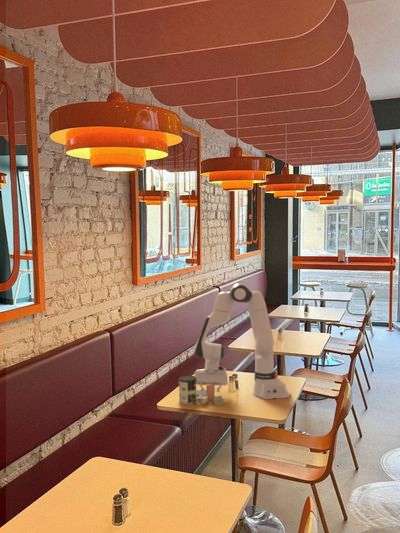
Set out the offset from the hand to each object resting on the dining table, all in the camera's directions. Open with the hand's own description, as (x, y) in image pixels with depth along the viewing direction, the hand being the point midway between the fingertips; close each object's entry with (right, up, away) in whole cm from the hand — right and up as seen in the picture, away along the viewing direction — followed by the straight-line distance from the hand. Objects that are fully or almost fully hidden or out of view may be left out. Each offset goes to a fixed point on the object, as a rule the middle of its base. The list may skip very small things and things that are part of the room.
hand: (210, 391), depth 293 cm
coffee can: (-13, -6, -2) cm, 15 cm away
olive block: (+4, -6, -6) cm, 10 cm away
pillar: (0, -5, +1) cm, 5 cm away
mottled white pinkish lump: (-5, -6, -6) cm, 10 cm away
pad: (-5, -4, +10) cm, 12 cm away
